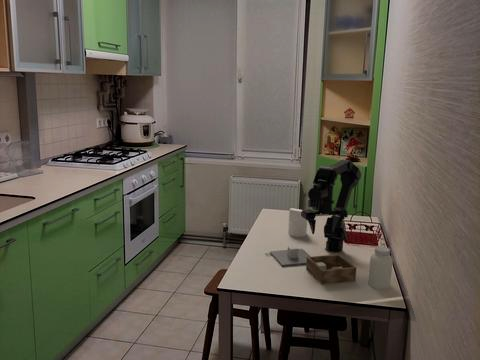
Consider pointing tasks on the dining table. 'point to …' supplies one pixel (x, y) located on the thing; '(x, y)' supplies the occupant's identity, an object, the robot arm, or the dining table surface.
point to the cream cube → (321, 265)
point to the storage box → (330, 274)
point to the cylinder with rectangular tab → (297, 223)
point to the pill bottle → (380, 268)
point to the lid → (290, 256)
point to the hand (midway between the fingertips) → (323, 233)
